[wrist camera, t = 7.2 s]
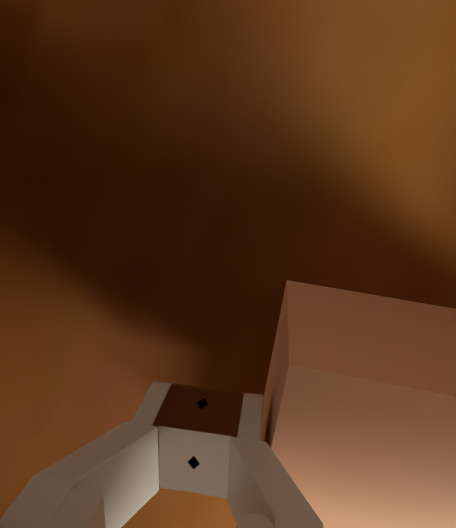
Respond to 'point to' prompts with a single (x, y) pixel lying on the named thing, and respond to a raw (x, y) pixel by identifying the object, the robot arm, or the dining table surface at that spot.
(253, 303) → the dining table surface
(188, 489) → the robot arm
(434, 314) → the peach block
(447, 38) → the dining table surface
